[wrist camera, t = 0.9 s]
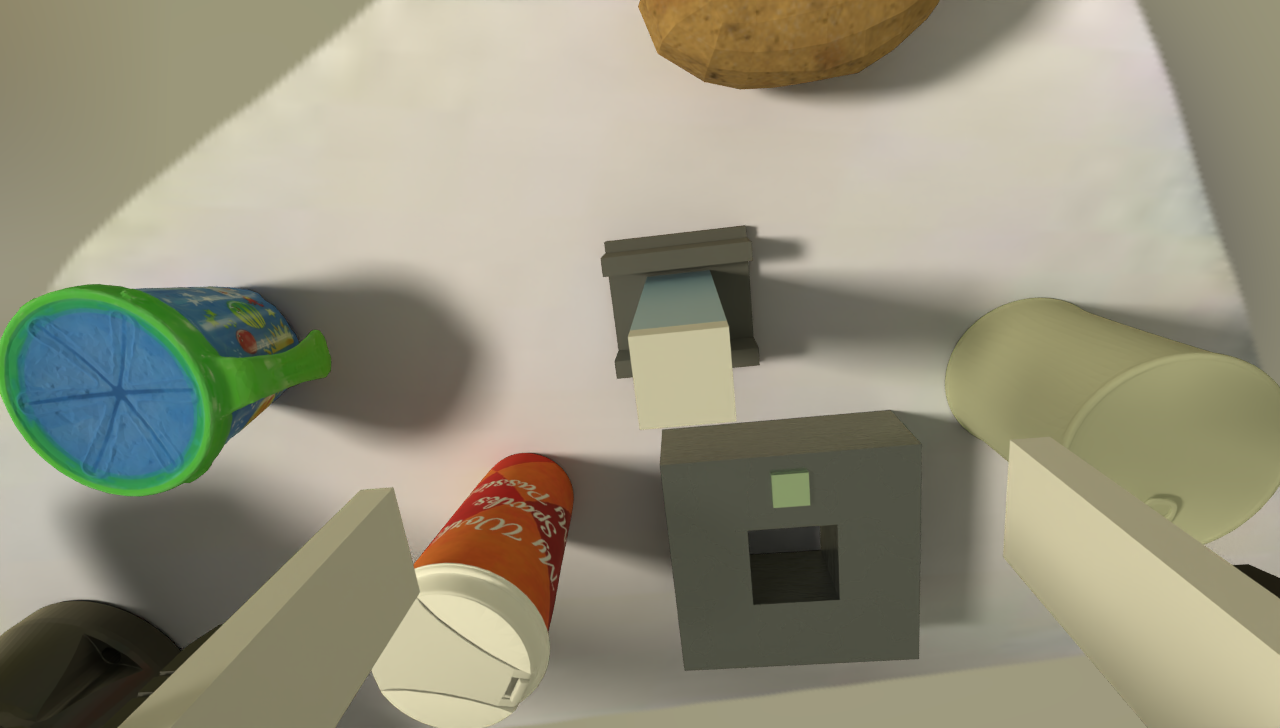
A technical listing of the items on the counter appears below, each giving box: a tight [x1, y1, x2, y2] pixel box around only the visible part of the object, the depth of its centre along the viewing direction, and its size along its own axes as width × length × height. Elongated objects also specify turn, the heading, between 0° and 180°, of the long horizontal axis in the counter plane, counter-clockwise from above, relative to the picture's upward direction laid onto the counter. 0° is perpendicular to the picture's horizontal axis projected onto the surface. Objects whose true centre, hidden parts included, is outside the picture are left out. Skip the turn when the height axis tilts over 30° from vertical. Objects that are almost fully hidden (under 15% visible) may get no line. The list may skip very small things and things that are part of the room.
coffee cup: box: [372, 453, 574, 728], centre depth 33 cm, size 8×8×15 cm
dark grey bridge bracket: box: [601, 225, 760, 379], centre depth 35 cm, size 8×8×3 cm
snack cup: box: [0, 284, 331, 496], centre depth 34 cm, size 16×10×10 cm
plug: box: [628, 270, 736, 430], centre depth 29 cm, size 4×4×14 cm
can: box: [945, 298, 1280, 545], centre depth 31 cm, size 9×9×12 cm
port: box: [660, 410, 922, 671], centre depth 37 cm, size 14×14×5 cm
